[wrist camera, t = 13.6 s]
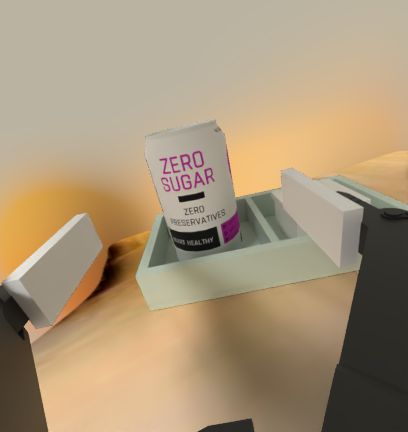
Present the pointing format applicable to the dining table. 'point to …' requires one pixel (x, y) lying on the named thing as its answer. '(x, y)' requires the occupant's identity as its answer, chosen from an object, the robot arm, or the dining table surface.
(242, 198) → the divided tray
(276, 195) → the pale grey square block
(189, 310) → the dining table surface
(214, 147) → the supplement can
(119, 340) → the dining table surface
